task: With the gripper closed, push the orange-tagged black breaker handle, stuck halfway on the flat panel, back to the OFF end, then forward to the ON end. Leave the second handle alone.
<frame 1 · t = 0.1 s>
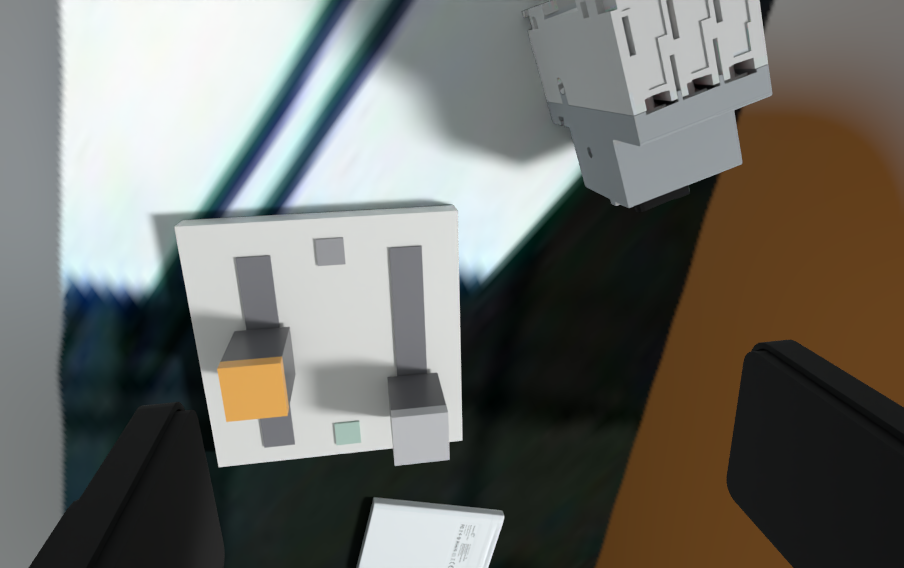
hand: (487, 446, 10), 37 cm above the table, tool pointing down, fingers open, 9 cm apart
circuit breaker: (594, 91, 45), on the table
breaker panel: (333, 334, 48), on the table
on handle: (417, 416, 46), point 5 cm above the table, slide at 10.0 cm
tripped handle: (259, 371, 43), point 6 cm above the table, slide at 5.0 cm
external hard drive: (428, 533, 58), on the table
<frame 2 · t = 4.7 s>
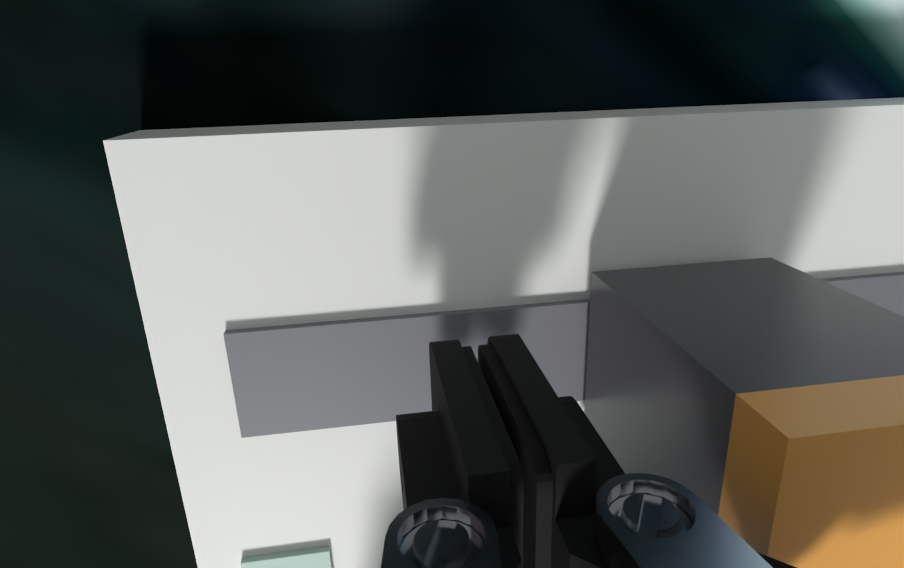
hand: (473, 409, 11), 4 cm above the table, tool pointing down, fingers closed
breaker panel: (582, 473, 17), on the table
tripped handle: (759, 425, 10), point 5 cm above the table, slide at 4.0 cm, touching gripper
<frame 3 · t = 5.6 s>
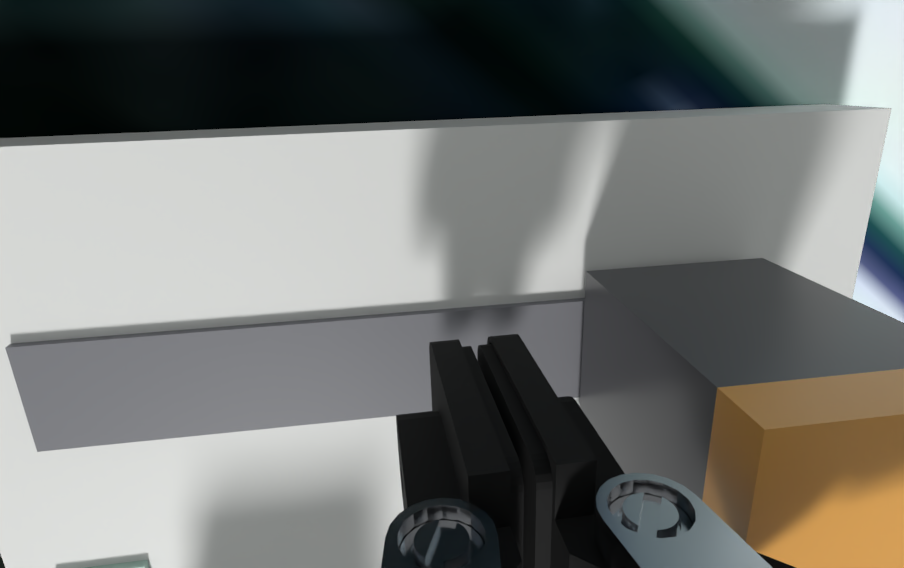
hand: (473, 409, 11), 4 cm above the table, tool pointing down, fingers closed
breaker panel: (436, 487, 17), on the table
tripped handle: (747, 421, 11), point 5 cm above the table, slide at -0.1 cm, touching gripper
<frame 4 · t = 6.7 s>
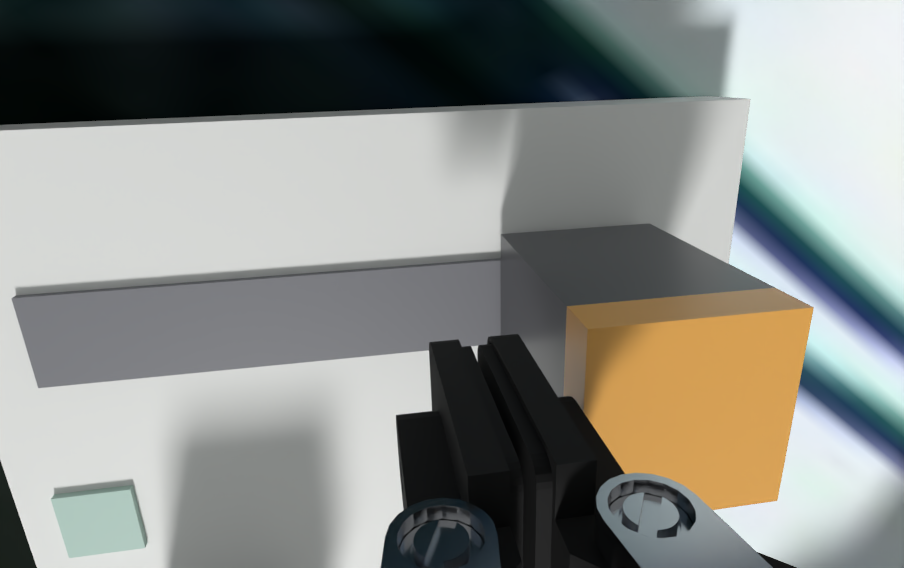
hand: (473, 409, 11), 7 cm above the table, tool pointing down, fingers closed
breaker panel: (385, 430, 19), on the table
tripped handle: (619, 349, 13), point 5 cm above the table, slide at -0.2 cm, touching gripper
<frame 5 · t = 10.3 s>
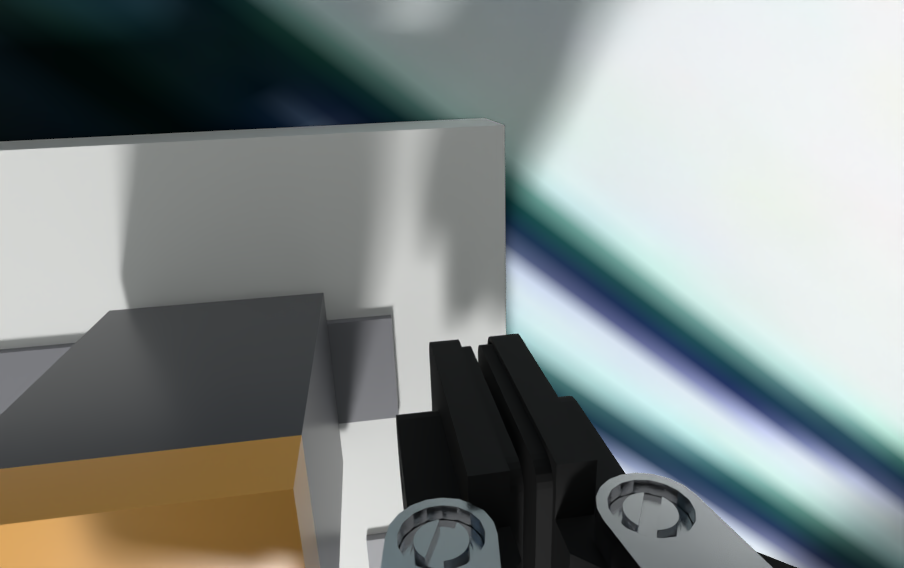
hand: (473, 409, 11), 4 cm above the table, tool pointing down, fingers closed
breaker panel: (118, 529, 16), on the table
tripped handle: (198, 486, 10), point 5 cm above the table, slide at 0.8 cm, touching gripper
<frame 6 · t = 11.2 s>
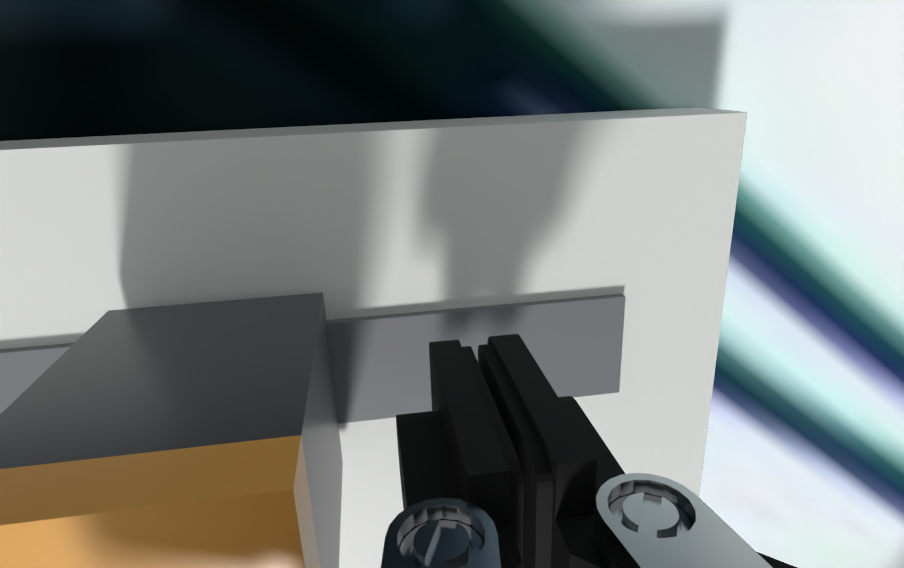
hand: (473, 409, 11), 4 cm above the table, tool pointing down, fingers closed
breaker panel: (317, 503, 16), on the table
tripped handle: (198, 486, 9), point 6 cm above the table, slide at 6.0 cm, touching gripper
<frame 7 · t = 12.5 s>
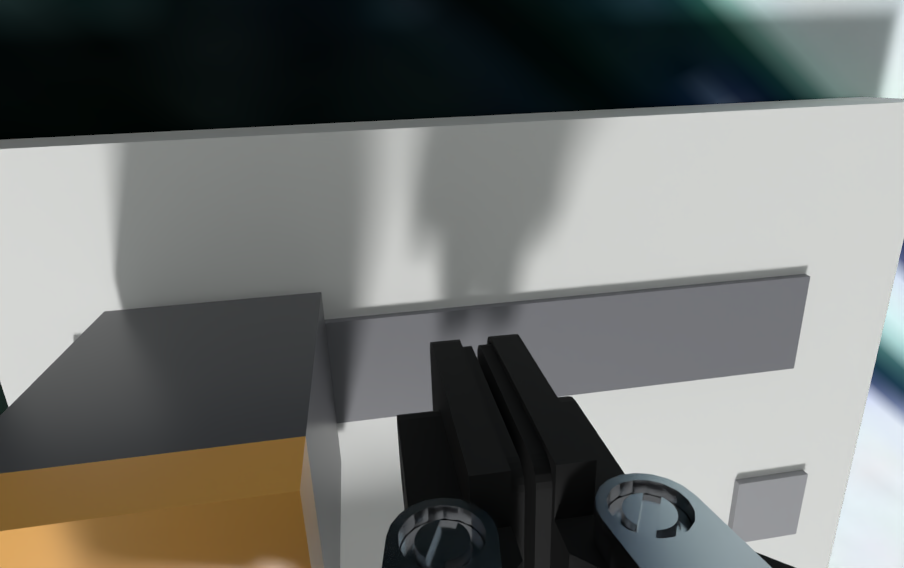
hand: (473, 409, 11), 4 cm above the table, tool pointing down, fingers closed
breaker panel: (479, 480, 17), on the table
tripped handle: (198, 488, 9), point 6 cm above the table, slide at 10.6 cm, touching gripper
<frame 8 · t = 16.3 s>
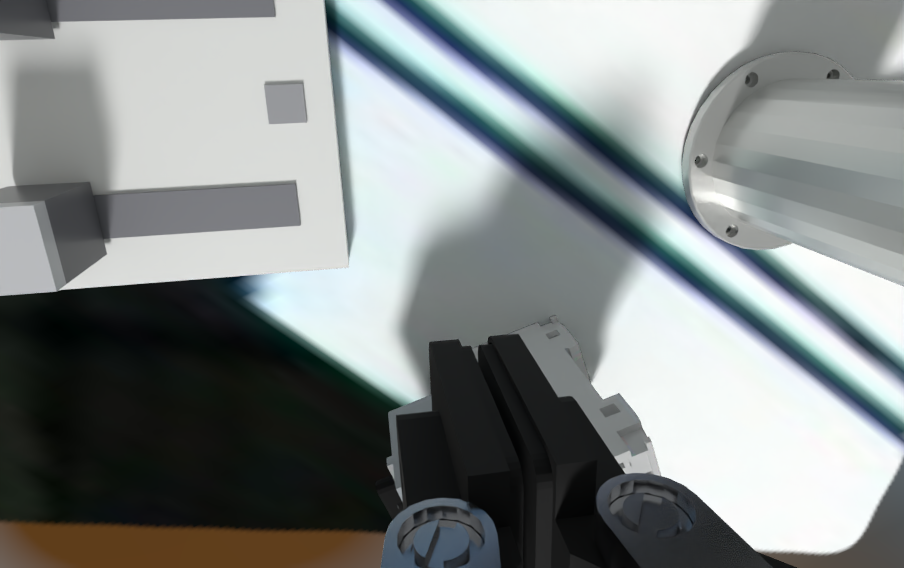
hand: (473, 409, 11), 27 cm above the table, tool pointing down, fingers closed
circuit breaker: (476, 395, 43), on the table
breaker panel: (149, 98, 33), on the table
on handle: (30, 235, 29), point 5 cm above the table, slide at 10.0 cm
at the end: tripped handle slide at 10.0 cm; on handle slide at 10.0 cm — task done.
